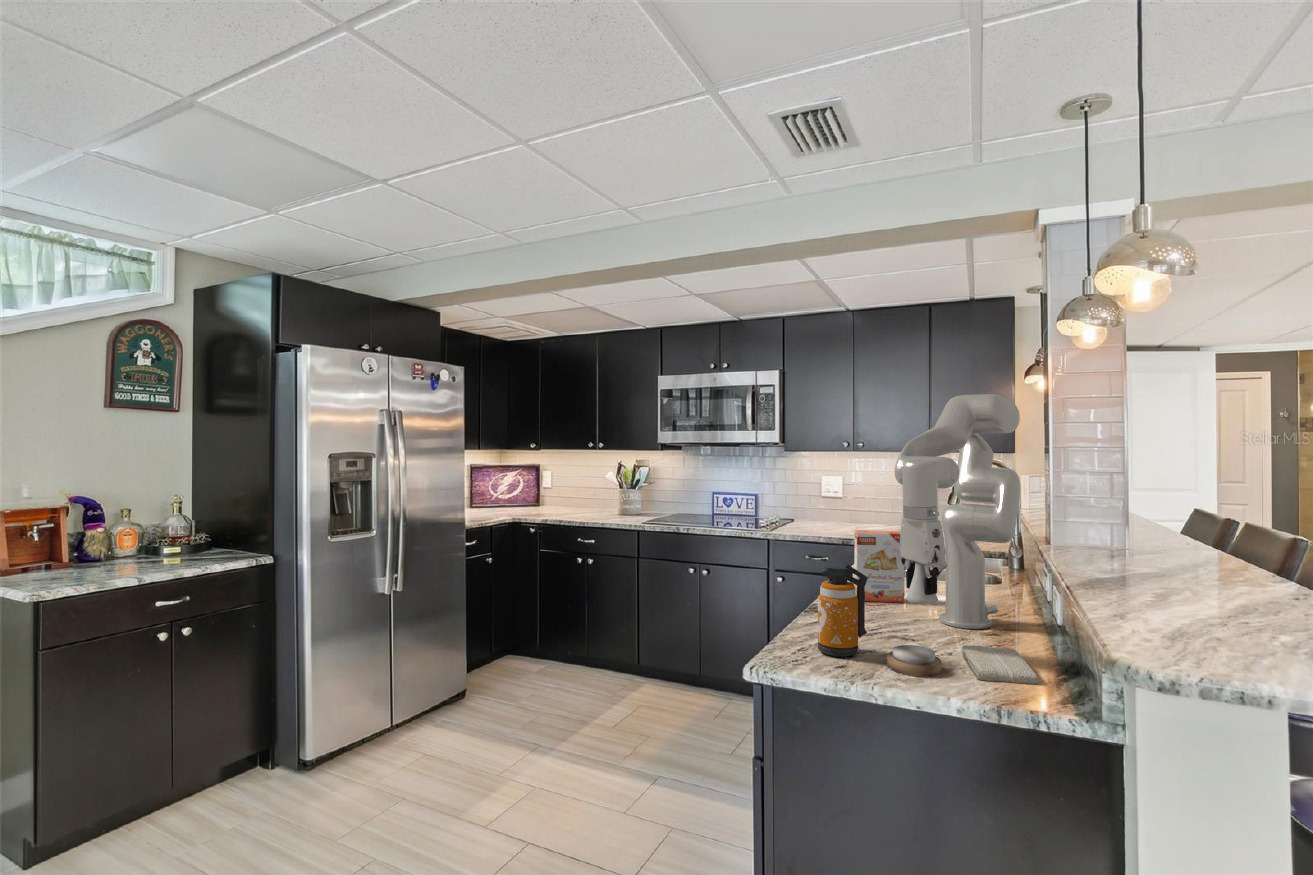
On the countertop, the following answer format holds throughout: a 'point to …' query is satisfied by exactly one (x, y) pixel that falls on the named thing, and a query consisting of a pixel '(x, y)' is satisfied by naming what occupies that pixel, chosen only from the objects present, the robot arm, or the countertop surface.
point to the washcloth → (998, 665)
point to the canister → (841, 611)
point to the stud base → (914, 668)
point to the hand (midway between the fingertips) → (921, 590)
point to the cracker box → (880, 565)
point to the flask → (919, 588)
